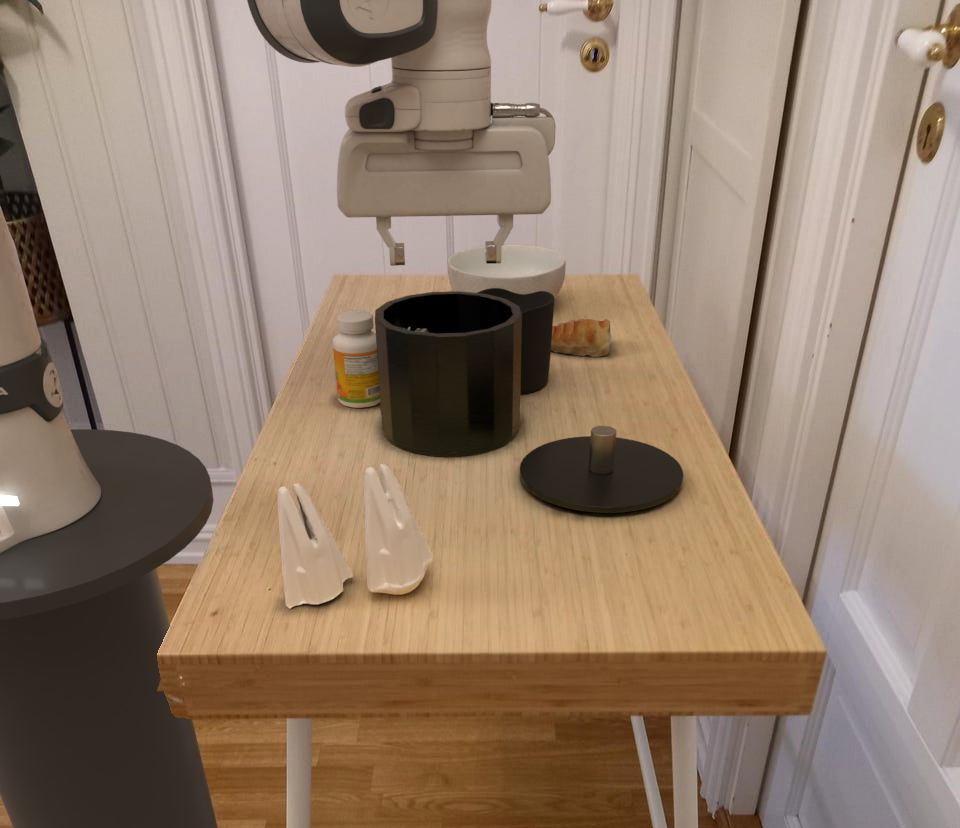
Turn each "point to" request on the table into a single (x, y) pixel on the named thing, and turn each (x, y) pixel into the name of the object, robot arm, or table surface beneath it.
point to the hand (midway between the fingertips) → (445, 263)
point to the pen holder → (532, 335)
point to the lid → (601, 473)
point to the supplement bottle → (356, 360)
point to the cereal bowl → (508, 270)
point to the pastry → (582, 337)
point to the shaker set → (321, 565)
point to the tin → (449, 372)
